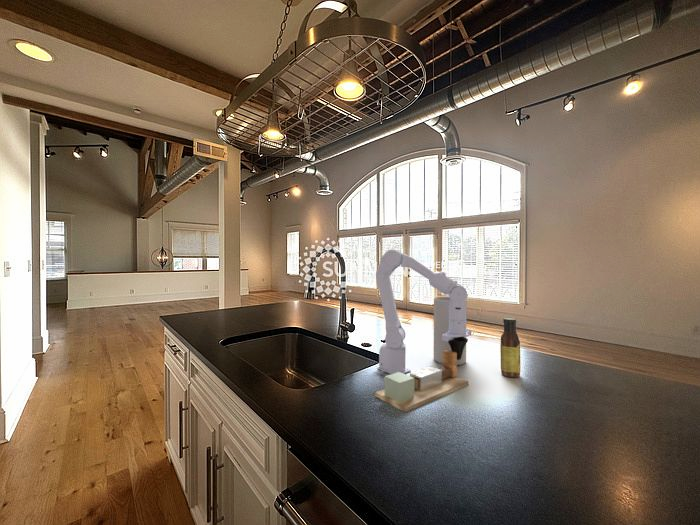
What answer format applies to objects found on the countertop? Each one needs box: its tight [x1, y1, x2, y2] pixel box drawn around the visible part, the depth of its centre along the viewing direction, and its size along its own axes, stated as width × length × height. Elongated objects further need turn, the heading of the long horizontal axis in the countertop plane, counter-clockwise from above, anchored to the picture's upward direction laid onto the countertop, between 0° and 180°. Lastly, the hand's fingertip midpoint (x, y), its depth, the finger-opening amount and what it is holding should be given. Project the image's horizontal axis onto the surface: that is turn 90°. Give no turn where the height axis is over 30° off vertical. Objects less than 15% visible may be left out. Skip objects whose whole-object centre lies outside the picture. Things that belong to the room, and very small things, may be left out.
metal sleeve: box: [409, 365, 442, 392], centre depth 96 cm, size 4×10×4 cm, turn 128°
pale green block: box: [384, 372, 414, 402], centre depth 88 cm, size 6×6×5 cm
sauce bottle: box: [499, 317, 521, 378], centre depth 109 cm, size 7×6×20 cm
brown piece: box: [413, 350, 458, 388], centre depth 98 cm, size 4×20×8 cm, turn 128°
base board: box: [374, 376, 469, 413], centre depth 95 cm, size 12×30×1 cm, turn 128°
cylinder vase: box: [433, 296, 468, 366], centre depth 124 cm, size 12×12×25 cm
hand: (457, 358), depth 106 cm, fingers closed
